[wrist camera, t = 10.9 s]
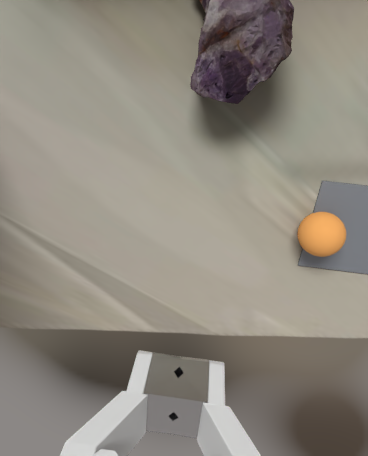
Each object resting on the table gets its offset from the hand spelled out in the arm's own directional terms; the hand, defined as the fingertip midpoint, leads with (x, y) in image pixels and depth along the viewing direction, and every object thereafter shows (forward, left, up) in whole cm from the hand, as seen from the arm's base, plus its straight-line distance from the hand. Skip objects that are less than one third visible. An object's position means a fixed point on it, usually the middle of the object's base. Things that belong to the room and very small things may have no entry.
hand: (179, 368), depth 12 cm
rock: (+1, +12, -31) cm, 34 cm away
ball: (+15, -8, -28) cm, 33 cm away
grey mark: (+20, -8, -31) cm, 38 cm away
